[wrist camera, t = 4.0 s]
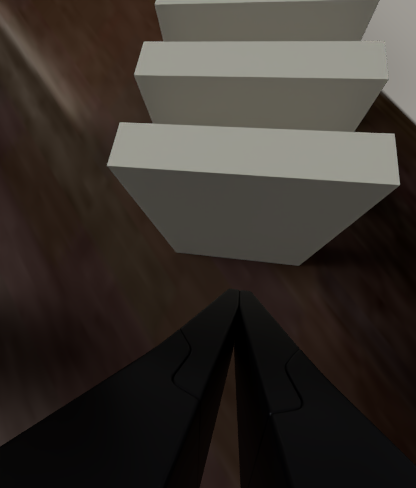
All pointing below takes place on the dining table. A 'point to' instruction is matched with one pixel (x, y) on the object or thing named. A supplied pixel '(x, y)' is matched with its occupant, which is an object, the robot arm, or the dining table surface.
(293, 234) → the domino
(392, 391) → the dining table surface
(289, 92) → the domino
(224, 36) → the domino
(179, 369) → the robot arm
